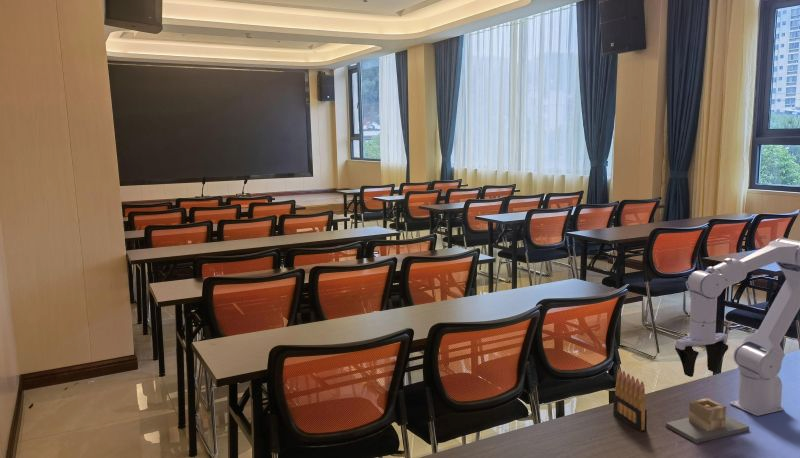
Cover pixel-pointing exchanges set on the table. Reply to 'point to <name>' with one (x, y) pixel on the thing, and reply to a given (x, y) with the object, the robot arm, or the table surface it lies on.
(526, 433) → the table surface
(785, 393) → the table surface
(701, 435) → the grey peg stand
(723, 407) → the bead
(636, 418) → the ammunition clip
